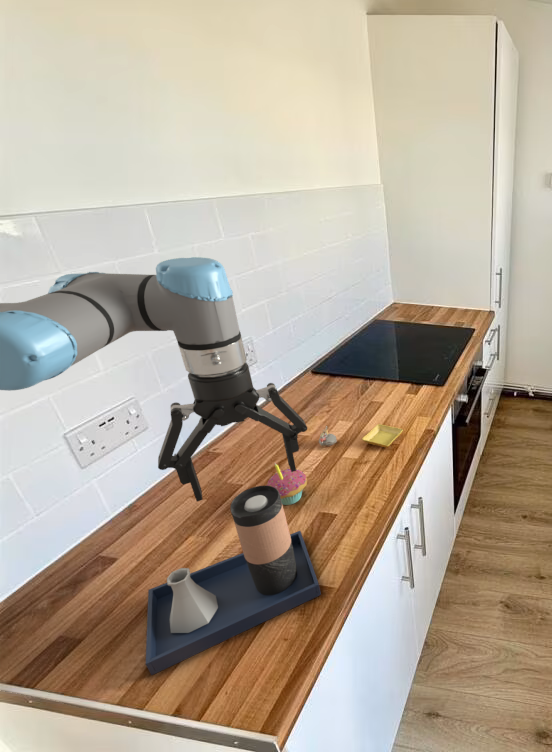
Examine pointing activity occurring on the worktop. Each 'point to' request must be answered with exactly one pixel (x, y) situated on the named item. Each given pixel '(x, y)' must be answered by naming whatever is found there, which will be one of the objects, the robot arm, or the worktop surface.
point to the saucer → (382, 435)
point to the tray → (223, 607)
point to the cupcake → (288, 484)
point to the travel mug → (265, 538)
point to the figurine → (327, 438)
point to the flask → (189, 603)
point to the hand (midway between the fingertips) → (248, 480)
